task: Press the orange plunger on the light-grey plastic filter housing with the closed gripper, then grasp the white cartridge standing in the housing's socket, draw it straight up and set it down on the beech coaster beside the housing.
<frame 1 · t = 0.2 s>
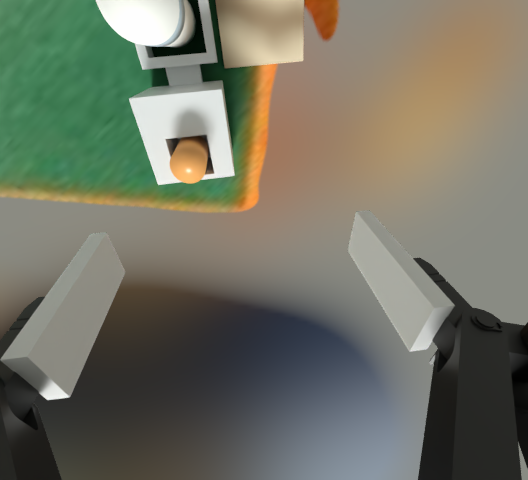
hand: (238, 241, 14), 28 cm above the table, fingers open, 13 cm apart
plunger: (191, 157, 29), point 10 cm above the table, slide at 0.0 cm
coaster: (260, 12, 30), on the table
housing: (190, 98, 34), on the table
cartridge: (173, 20, 30), resting in housing
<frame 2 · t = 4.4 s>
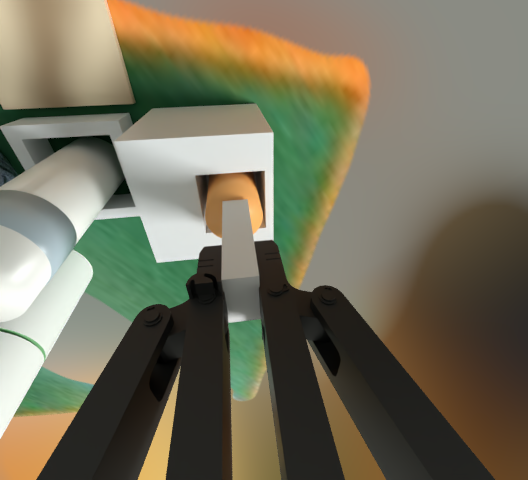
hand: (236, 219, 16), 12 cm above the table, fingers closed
plunger: (232, 195, 19), point 9 cm above the table, slide at 1.2 cm, touching gripper
coaster: (41, 27, 19), on the table
cylindrical container: (60, 266, 31), on the table
housing: (183, 158, 25), on the table
cartridge: (97, 164, 25), resting in housing
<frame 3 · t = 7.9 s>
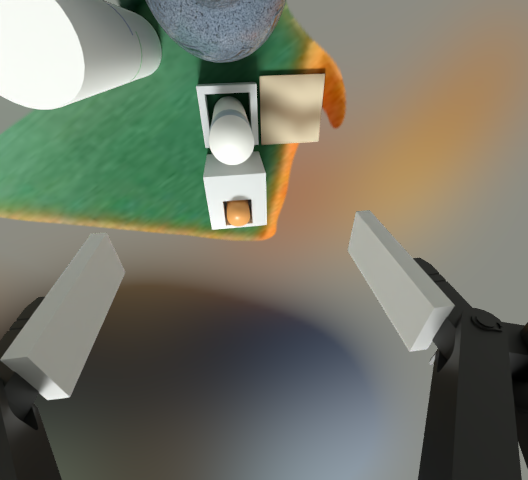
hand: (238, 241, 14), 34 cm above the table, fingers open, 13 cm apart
plunger: (237, 207, 43), point 8 cm above the table, slide at 1.8 cm
vase: (219, 5, 34), on the table
coaster: (290, 110, 42), on the table
cylindrical container: (134, 45, 35), on the table
housing: (233, 162, 46), on the table
cartridge: (229, 113, 42), resting in housing
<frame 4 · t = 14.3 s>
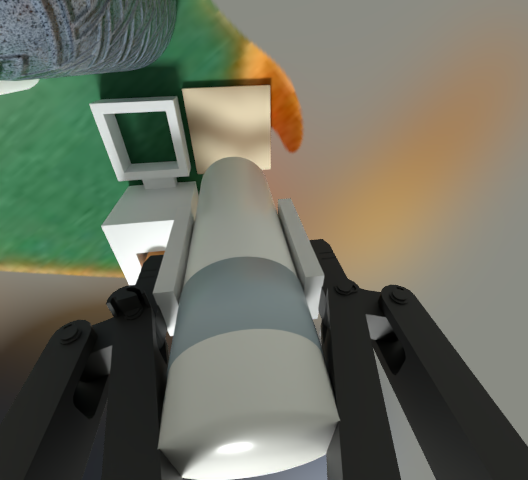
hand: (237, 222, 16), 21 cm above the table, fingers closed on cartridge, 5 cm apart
plunger: (163, 256, 33), point 8 cm above the table, slide at 1.8 cm
coaster: (230, 131, 33), on the table
cylindrical container: (0, 49, 26), on the table
housing: (165, 195, 37), on the table
cartridge: (234, 189, 20), point 17 cm above the table, touching gripper
when the fingers open (6 cm above the table, at t = 17.3 s): cartridge stays where it is, resting on coaster.
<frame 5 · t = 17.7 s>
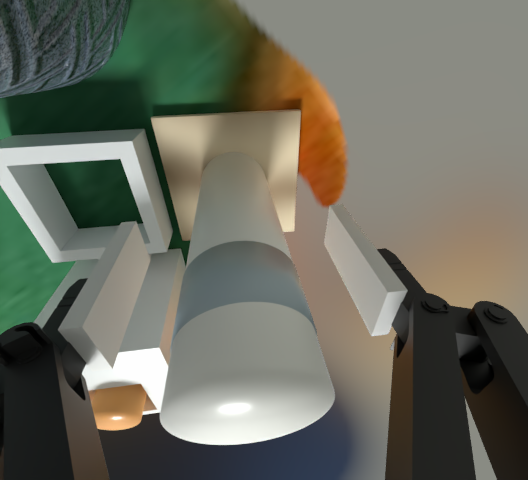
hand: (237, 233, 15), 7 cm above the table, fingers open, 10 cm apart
plunger: (126, 377, 21), point 8 cm above the table, slide at 1.8 cm
coaster: (234, 180, 21), on the table
housing: (136, 267, 25), on the table
cartridge: (234, 184, 20), point 1 cm above the table, touching coaster
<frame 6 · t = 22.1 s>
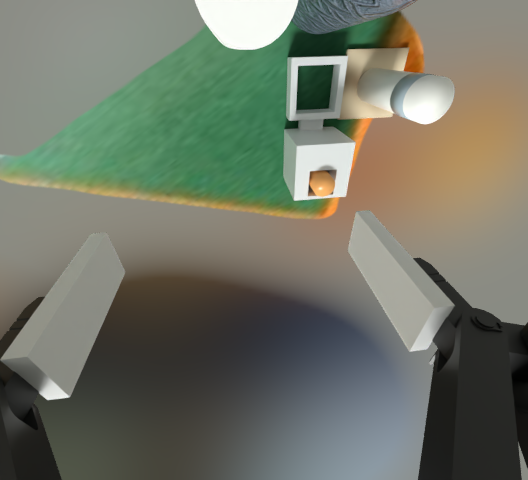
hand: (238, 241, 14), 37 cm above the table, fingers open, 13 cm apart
plunger: (318, 178, 44), point 8 cm above the table, slide at 1.8 cm
coaster: (370, 85, 44), on the table
cylindrical container: (234, 17, 37), on the table
housing: (308, 137, 48), on the table
cartridge: (371, 85, 43), point 1 cm above the table, touching coaster
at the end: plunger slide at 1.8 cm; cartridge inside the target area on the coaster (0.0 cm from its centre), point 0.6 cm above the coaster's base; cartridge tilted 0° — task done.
